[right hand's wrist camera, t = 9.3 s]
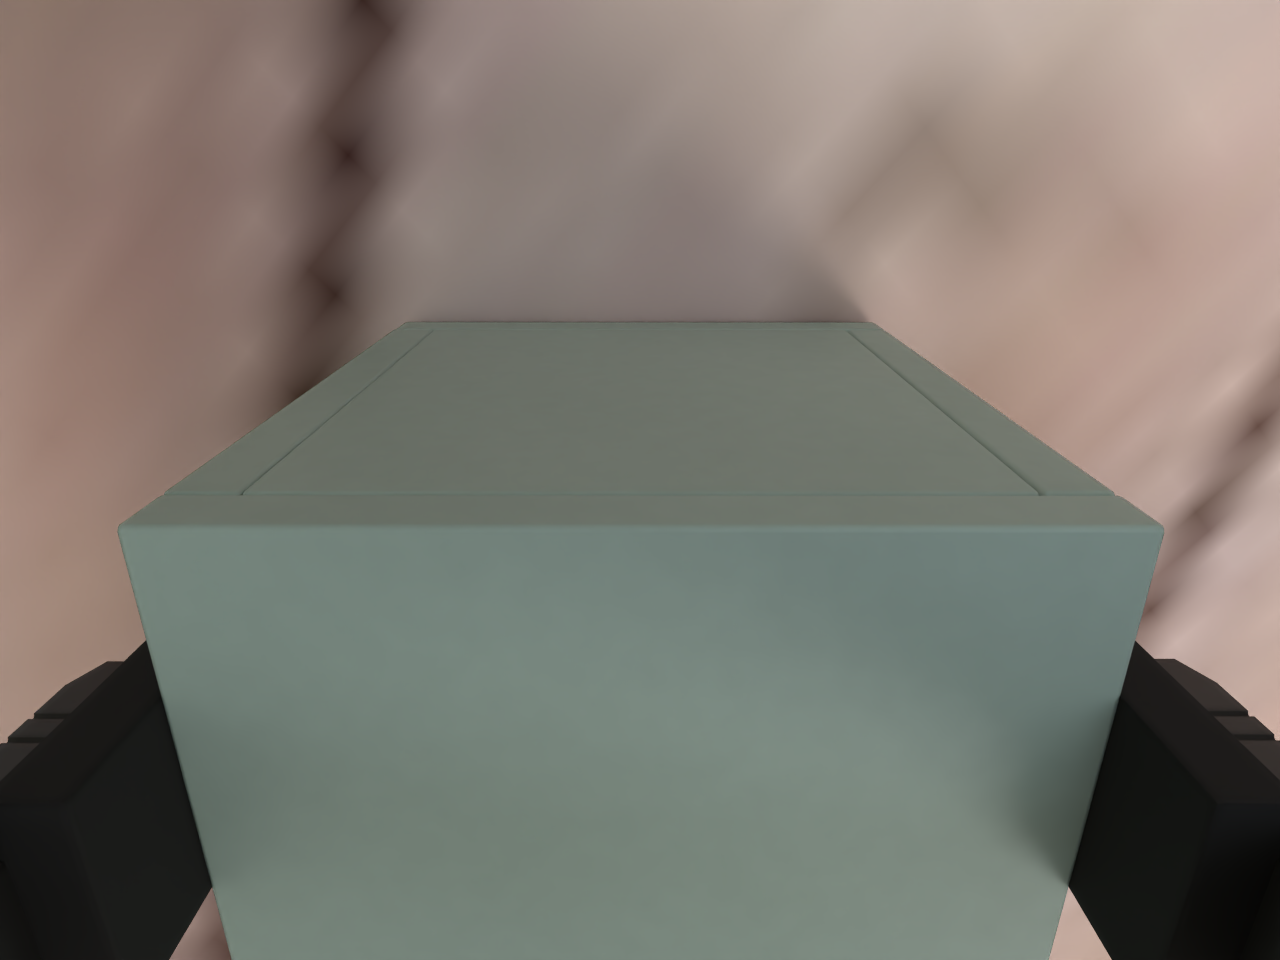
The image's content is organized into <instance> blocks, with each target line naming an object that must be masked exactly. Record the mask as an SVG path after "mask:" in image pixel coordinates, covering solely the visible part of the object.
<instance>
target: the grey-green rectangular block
mask: <svg viewBox="0 0 1280 960" xmlns="http://www.w3.org/2000/svg"><path fill="white" fill-rule="evenodd" d="M118 535H119V539H120V543H121V547H122V550H123V554H124V558H125V562H126V565H127V569H128V573H129V577H130V580H131V584H132V588H133V592H134V595H135V599H136V603H137V607H138V610H139V614H140V618H141V622H142V625H143V629H144V633H145V637H146V640H147V644H148V648H149V652H150V655H151V659H152V663H153V667H154V670H155V674H156V678H157V682H158V685H159V689H160V693H161V697H162V700H163V704H164V708H165V711H166V715H167V719H168V723H169V726H170V730H171V734H172V738H173V741H174V745H175V749H176V753H177V756H178V760H179V764H180V768H181V771H182V775H183V779H184V783H185V786H186V790H187V794H188V798H189V801H190V805H191V809H192V813H193V816H194V820H195V824H196V828H197V831H198V835H199V839H200V843H201V846H202V850H203V854H204V858H205V861H206V865H207V869H208V873H209V876H210V880H211V884H212V888H213V891H214V895H215V899H216V902H217V906H218V910H219V914H220V917H221V921H222V925H223V929H224V932H225V936H226V940H227V944H228V947H229V951H230V955H231V959H232V960H1049V956H1050V953H1051V949H1052V945H1053V942H1054V938H1055V934H1056V931H1057V927H1058V923H1059V919H1060V916H1061V912H1062V908H1063V905H1064V901H1065V897H1066V894H1067V890H1068V886H1069V882H1070V879H1071V875H1072V871H1073V868H1074V864H1075V860H1076V857H1077V853H1078V849H1079V846H1080V842H1081V838H1082V834H1083V831H1084V827H1085V823H1086V820H1087V816H1088V812H1089V809H1090V805H1091V801H1092V798H1093V794H1094V790H1095V786H1096V783H1097V779H1098V775H1099V772H1100V768H1101V764H1102V761H1103V757H1104V753H1105V750H1106V746H1107V742H1108V738H1109V735H1110V731H1111V727H1112V724H1113V720H1114V716H1115V713H1116V709H1117V705H1118V701H1119V698H1120V694H1121V690H1122V687H1123V683H1124V679H1125V676H1126V672H1127V668H1128V665H1129V661H1130V657H1131V653H1132V650H1133V646H1134V642H1135V639H1136V635H1137V631H1138V628H1139V624H1140V620H1141V617H1142V613H1143V609H1144V605H1145V602H1146V598H1147V594H1148V591H1149V587H1150V583H1151V580H1152V576H1153V572H1154V568H1155V565H1156V561H1157V557H1158V554H1159V550H1160V546H1161V543H1162V539H1163V535H1164V528H1163V526H1162V525H1161V524H1160V523H1158V522H1157V521H1155V520H1154V519H1152V518H1151V517H1150V516H1148V515H1147V514H1145V513H1144V512H1143V511H1141V510H1140V509H1138V508H1137V507H1135V506H1134V505H1133V504H1131V503H1130V502H1128V501H1127V500H1125V499H1124V498H1122V497H1120V496H1115V495H1114V492H1113V491H1111V490H1110V489H1108V488H1107V487H1105V486H1104V485H1103V484H1101V483H1100V482H1098V481H1097V480H1096V479H1094V478H1093V477H1091V476H1090V475H1088V474H1087V473H1086V472H1084V471H1083V470H1081V469H1080V468H1079V467H1077V466H1076V465H1074V464H1073V463H1071V462H1070V461H1069V460H1067V459H1066V458H1064V457H1063V456H1062V455H1060V454H1059V453H1057V452H1056V451H1054V450H1053V449H1052V448H1050V447H1049V446H1047V445H1046V444H1045V443H1043V442H1042V441H1040V440H1039V439H1038V438H1036V437H1035V436H1033V435H1032V434H1030V433H1029V432H1028V431H1026V430H1025V429H1023V428H1022V427H1021V426H1019V425H1018V424H1016V423H1015V422H1013V421H1012V420H1011V419H1009V418H1008V417H1006V416H1005V415H1004V414H1002V413H1001V412H999V411H998V410H996V409H995V408H994V407H992V406H991V405H989V404H988V403H987V402H985V401H984V400H982V399H981V398H979V397H978V396H977V395H975V394H974V393H972V392H971V391H970V390H968V389H967V388H965V387H964V386H963V385H961V384H960V383H958V382H957V381H955V380H954V379H953V378H951V377H950V376H948V375H947V374H946V373H944V372H943V371H941V370H940V369H938V368H937V367H936V366H934V365H933V364H931V363H930V362H929V361H927V360H926V359H924V358H923V357H921V356H920V355H919V354H917V353H916V352H914V351H913V350H912V349H910V348H909V347H907V346H906V345H904V344H903V343H902V342H900V341H899V340H897V339H896V338H895V337H893V336H892V335H890V334H889V333H887V332H886V331H884V330H883V329H882V328H880V327H879V326H878V325H876V324H874V323H867V322H407V323H404V324H403V325H402V326H400V327H399V328H397V329H396V330H393V331H392V332H391V333H389V334H388V335H386V336H385V337H383V338H382V339H381V340H379V341H378V342H376V343H375V344H374V345H372V346H371V347H369V348H368V349H367V350H365V351H364V352H362V353H361V354H359V355H358V356H357V357H355V358H354V359H352V360H351V361H350V362H348V363H347V364H345V365H344V366H343V367H341V368H340V369H338V370H337V371H335V372H334V373H333V374H331V375H330V376H328V377H327V378H326V379H324V380H323V381H321V382H320V383H318V384H317V385H316V386H314V387H313V388H311V389H310V390H309V391H307V392H306V393H304V394H303V395H302V396H300V397H299V398H297V399H296V400H294V401H293V402H292V403H290V404H289V405H287V406H286V407H285V408H283V409H282V410H280V411H279V412H278V413H276V414H275V415H273V416H272V417H270V418H269V419H268V420H266V421H265V422H263V423H262V424H261V425H259V426H258V427H256V428H255V429H253V430H252V431H251V432H249V433H248V434H246V435H245V436H244V437H242V438H241V439H239V440H238V441H237V442H235V443H234V444H232V445H231V446H229V447H228V448H227V449H225V450H224V451H222V452H221V453H220V454H218V455H217V456H215V457H214V458H212V459H211V460H210V461H208V462H207V463H205V464H204V465H203V466H201V467H200V468H198V469H197V470H196V471H194V472H193V473H191V474H190V475H188V476H187V477H186V478H184V479H183V480H181V481H180V482H179V483H177V484H176V485H174V486H173V487H172V488H170V489H169V490H167V491H166V492H165V494H164V495H163V496H160V497H158V498H157V499H155V500H154V501H153V502H151V503H150V504H148V505H147V506H145V507H144V508H143V509H141V510H140V511H138V512H137V513H136V514H134V515H133V516H131V517H130V518H129V519H127V520H126V521H124V522H123V523H121V524H120V525H119V527H118Z"/></svg>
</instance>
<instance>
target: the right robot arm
mask: <svg viewBox="0 0 1280 960" xmlns="http://www.w3.org/2000/svg"><path fill="white" fill-rule="evenodd" d="M211 888H212V884H211V880H210V876H209V873H208V869H207V865H206V861H205V858H204V854H203V850H202V846H201V843H200V839H199V835H198V831H197V828H196V824H195V820H194V816H193V813H192V809H191V805H190V801H189V798H188V794H187V790H186V786H185V783H184V779H183V775H182V771H181V768H180V764H179V760H178V756H177V753H176V749H175V745H174V741H173V738H172V734H171V730H170V726H169V723H168V719H167V715H166V711H165V708H164V704H163V700H162V697H161V693H160V689H159V685H158V682H157V678H156V674H155V670H154V667H153V663H152V659H151V655H150V652H149V648H148V644H147V640H146V641H145V642H144V643H143V644H142V645H141V646H140V647H139V648H138V649H137V650H136V651H135V652H133V653H132V654H131V655H130V656H129V657H128V658H127V659H126V660H125V661H107V662H106V663H104V664H102V665H100V666H99V667H97V668H95V669H93V670H92V671H90V672H88V673H86V674H84V675H83V676H81V677H79V678H77V679H76V680H74V681H72V682H70V683H69V684H67V685H65V686H64V687H63V688H62V689H61V690H60V691H58V692H57V693H56V694H55V695H54V696H53V697H52V698H51V699H50V700H49V701H47V702H46V703H45V704H44V705H43V706H42V707H41V708H40V709H39V710H38V711H36V712H35V713H34V718H33V719H28V720H27V721H25V722H24V723H23V724H22V725H21V726H20V727H19V728H18V729H17V730H16V731H14V732H13V733H12V734H11V735H10V736H9V737H8V742H7V743H1V744H0V960H169V959H170V957H171V955H172V954H173V952H174V950H175V949H176V947H177V945H178V943H179V942H180V940H181V938H182V937H183V935H184V933H185V932H186V930H187V928H188V927H189V925H190V923H191V922H192V920H193V918H194V916H195V915H196V913H197V911H198V910H199V908H200V906H201V905H202V903H203V901H204V900H205V898H206V896H207V894H208V893H209V891H210V889H211ZM1069 888H1070V890H1071V891H1072V893H1073V895H1074V896H1075V898H1076V900H1077V901H1078V903H1079V905H1080V907H1081V908H1082V910H1083V912H1084V913H1085V915H1086V917H1087V918H1088V920H1089V922H1090V923H1091V925H1092V927H1093V928H1094V930H1095V932H1096V934H1097V935H1098V937H1099V939H1100V940H1101V942H1102V944H1103V945H1104V947H1105V949H1106V950H1107V952H1108V954H1109V956H1110V957H1111V959H1112V960H1280V741H1276V740H1275V739H1274V734H1273V733H1272V732H1271V731H1270V730H1269V729H1268V728H1266V727H1265V726H1264V725H1263V724H1262V723H1261V722H1260V721H1259V720H1258V719H1256V718H1255V717H1249V715H1248V710H1246V709H1245V708H1244V707H1243V706H1242V705H1241V704H1240V703H1239V702H1238V701H1236V700H1235V699H1234V698H1233V697H1232V696H1231V695H1230V694H1229V693H1228V692H1226V691H1225V690H1224V689H1223V688H1222V687H1221V686H1220V685H1219V684H1218V683H1216V682H1214V681H1213V680H1211V679H1209V678H1207V677H1206V676H1204V675H1202V674H1200V673H1198V672H1197V671H1195V670H1193V669H1191V668H1190V667H1188V666H1186V665H1184V664H1182V663H1181V662H1179V661H1177V660H1175V659H1154V658H1153V657H1152V656H1151V655H1150V654H1149V653H1147V652H1146V651H1145V650H1144V649H1143V648H1142V647H1141V646H1140V645H1139V644H1138V643H1137V642H1136V641H1135V642H1134V646H1133V650H1132V653H1131V657H1130V661H1129V665H1128V668H1127V672H1126V676H1125V679H1124V683H1123V687H1122V690H1121V694H1120V698H1119V701H1118V705H1117V709H1116V713H1115V716H1114V720H1113V724H1112V727H1111V731H1110V735H1109V738H1108V742H1107V746H1106V750H1105V753H1104V757H1103V761H1102V764H1101V768H1100V772H1099V775H1098V779H1097V783H1096V786H1095V790H1094V794H1093V798H1092V801H1091V805H1090V809H1089V812H1088V816H1087V820H1086V823H1085V827H1084V831H1083V834H1082V838H1081V842H1080V846H1079V849H1078V853H1077V857H1076V860H1075V864H1074V868H1073V871H1072V875H1071V879H1070V882H1069Z"/></svg>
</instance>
